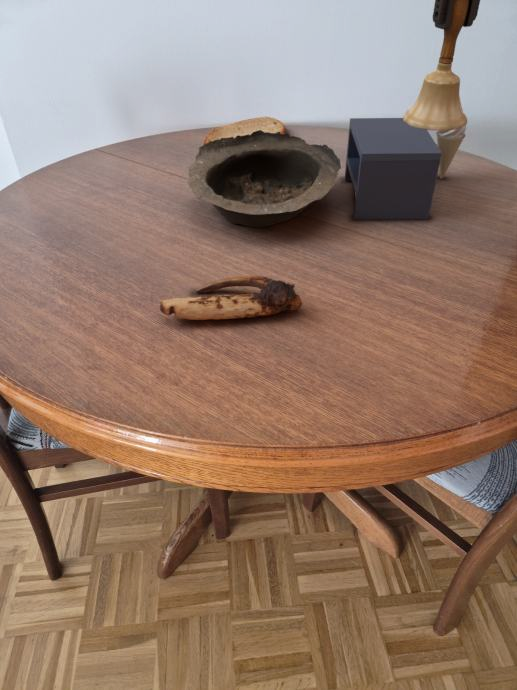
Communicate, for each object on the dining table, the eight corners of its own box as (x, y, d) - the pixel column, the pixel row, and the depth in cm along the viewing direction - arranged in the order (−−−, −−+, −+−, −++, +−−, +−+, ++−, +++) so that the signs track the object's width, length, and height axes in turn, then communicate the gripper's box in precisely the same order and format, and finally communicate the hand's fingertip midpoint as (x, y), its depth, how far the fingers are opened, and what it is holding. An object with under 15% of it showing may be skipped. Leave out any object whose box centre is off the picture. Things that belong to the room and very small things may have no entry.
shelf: (409, 178, 101) (419, 117, 94) (428, 219, 89) (441, 153, 82) (344, 178, 101) (349, 118, 94) (354, 219, 89) (361, 153, 82)
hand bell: (428, 106, 77) (451, -30, 66) (479, 120, 72) (513, -24, 61) (389, 120, 73) (408, -22, 62) (441, 136, 68) (470, -15, 58)
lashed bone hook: (293, 285, 76) (163, 292, 74) (294, 256, 73) (159, 262, 71) (304, 325, 68) (161, 334, 67) (307, 294, 66) (156, 302, 64)
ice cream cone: (422, 175, 102) (437, 90, 92) (444, 170, 103) (462, 86, 94) (437, 185, 98) (456, 98, 89) (461, 181, 100) (481, 94, 90)
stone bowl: (291, 166, 105) (295, 118, 99) (362, 232, 89) (372, 180, 83) (169, 190, 97) (164, 139, 91) (222, 266, 81) (221, 212, 75)
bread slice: (283, 126, 123) (283, 108, 121) (292, 156, 110) (292, 138, 107) (204, 129, 123) (203, 112, 120) (203, 160, 109) (201, 141, 106)
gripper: (453, -175, 50) (420, 38, 61) (574, -175, 53) (522, 27, 64) (409, -169, 55) (386, 26, 66) (522, -169, 58) (481, 16, 70)
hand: (453, 26), depth 65 cm, fingers closed on hand bell, 2 cm apart
